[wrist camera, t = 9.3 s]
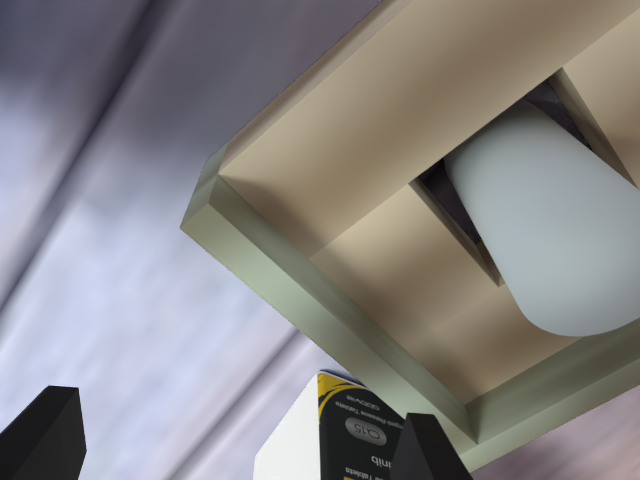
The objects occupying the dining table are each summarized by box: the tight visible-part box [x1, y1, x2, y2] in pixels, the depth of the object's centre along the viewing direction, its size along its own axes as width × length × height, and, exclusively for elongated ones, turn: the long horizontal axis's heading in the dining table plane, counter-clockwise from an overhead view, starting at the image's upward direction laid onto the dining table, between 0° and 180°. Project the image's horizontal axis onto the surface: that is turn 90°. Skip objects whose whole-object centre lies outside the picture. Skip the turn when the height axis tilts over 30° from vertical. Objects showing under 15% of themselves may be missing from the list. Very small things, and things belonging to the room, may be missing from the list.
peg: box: [443, 99, 640, 337], centre depth 16 cm, size 4×4×8 cm
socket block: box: [180, 0, 640, 473], centre depth 18 cm, size 15×15×5 cm
